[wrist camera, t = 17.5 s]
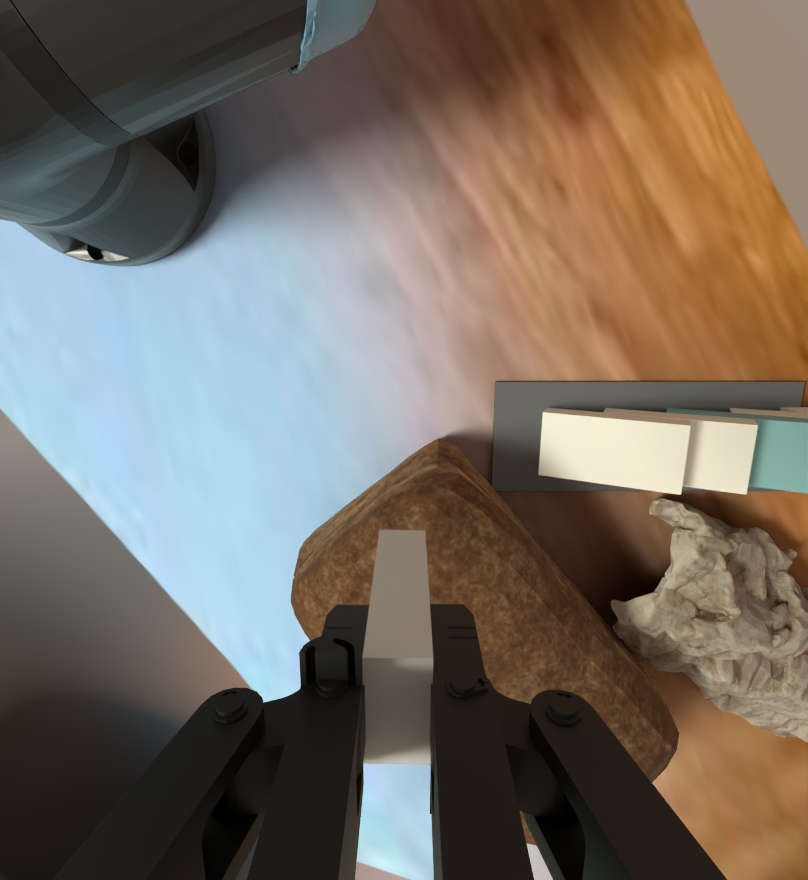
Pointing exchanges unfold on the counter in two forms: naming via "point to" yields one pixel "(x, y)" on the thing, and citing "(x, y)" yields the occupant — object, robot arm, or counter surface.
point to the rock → (726, 620)
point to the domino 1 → (614, 449)
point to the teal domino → (773, 449)
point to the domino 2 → (714, 450)
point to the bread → (488, 595)
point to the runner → (528, 400)
